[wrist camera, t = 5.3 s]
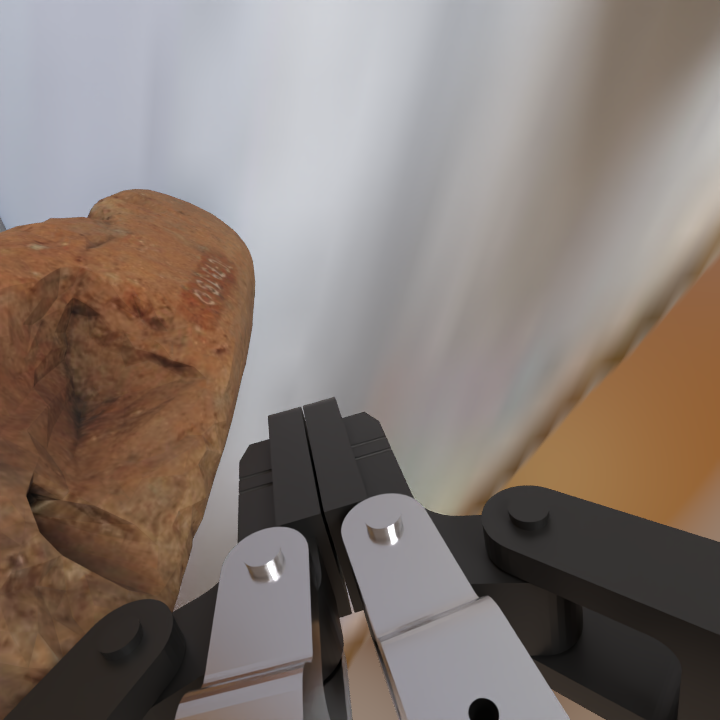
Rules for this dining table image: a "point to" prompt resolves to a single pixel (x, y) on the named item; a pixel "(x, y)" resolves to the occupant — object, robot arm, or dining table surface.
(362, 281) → the dining table surface
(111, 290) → the sandstone rock
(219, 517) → the dining table surface
